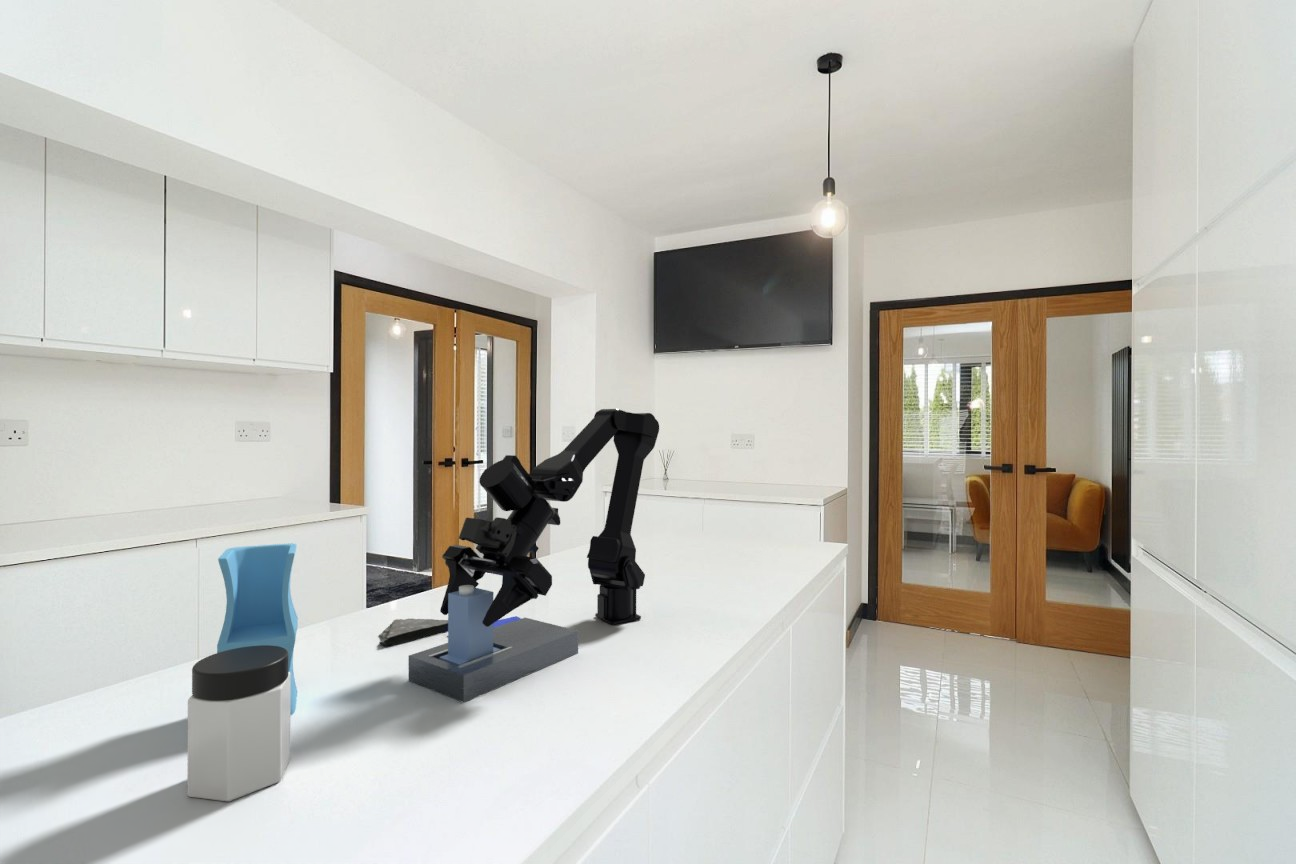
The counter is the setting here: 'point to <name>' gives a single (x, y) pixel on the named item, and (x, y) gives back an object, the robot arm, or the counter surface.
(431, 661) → the plate
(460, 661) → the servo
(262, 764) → the jar
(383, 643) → the stone
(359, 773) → the counter surface
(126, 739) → the counter surface
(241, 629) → the vase
